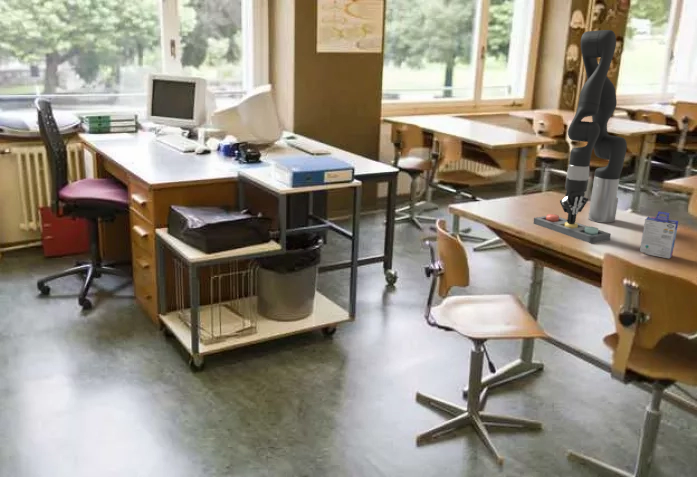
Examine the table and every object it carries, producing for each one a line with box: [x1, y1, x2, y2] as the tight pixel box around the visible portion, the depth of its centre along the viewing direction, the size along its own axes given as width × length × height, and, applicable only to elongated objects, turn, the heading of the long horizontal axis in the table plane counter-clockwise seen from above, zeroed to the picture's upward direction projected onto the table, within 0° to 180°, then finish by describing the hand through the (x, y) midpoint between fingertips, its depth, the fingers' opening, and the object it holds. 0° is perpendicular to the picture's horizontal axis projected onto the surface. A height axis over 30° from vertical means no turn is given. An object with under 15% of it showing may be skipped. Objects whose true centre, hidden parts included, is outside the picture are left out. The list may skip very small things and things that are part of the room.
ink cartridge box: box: [639, 211, 679, 259], centre depth 230 cm, size 10×6×14 cm, turn 58°
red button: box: [545, 213, 560, 222], centre depth 259 cm, size 5×5×2 cm
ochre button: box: [565, 222, 578, 229], centre depth 252 cm, size 5×5×2 cm
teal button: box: [584, 225, 599, 235], centre depth 244 cm, size 5×5×2 cm
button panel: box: [533, 215, 612, 244], centre depth 252 cm, size 27×10×3 cm, turn 32°
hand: (570, 223), depth 251 cm, fingers closed
